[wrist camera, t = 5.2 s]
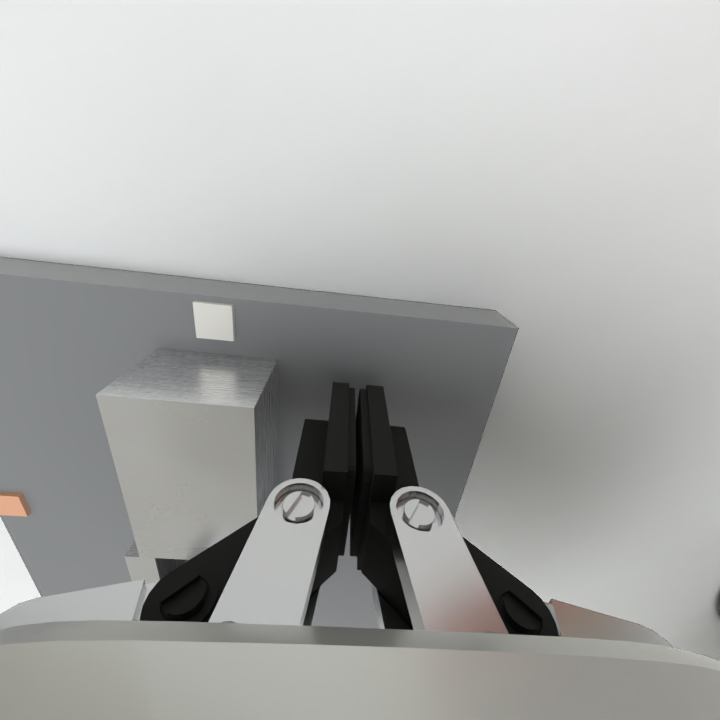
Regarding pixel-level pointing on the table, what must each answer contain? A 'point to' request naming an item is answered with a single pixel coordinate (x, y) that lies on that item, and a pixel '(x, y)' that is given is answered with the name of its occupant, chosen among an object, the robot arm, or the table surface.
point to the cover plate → (223, 336)
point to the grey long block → (190, 451)
